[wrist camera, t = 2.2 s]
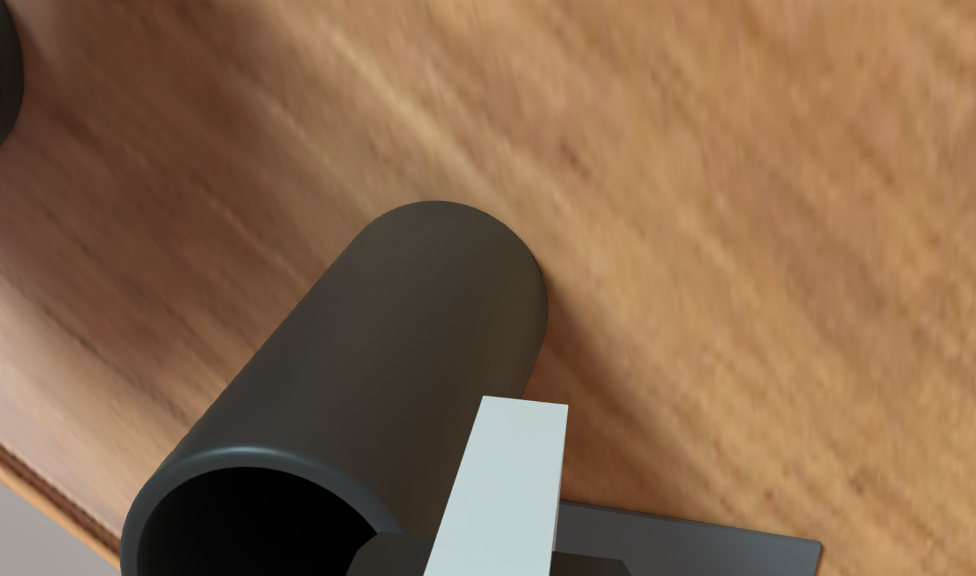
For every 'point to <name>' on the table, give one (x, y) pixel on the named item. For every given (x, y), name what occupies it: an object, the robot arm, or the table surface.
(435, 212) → the vase
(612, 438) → the table surface
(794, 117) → the table surface
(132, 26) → the table surface
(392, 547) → the robot arm
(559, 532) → the mat
